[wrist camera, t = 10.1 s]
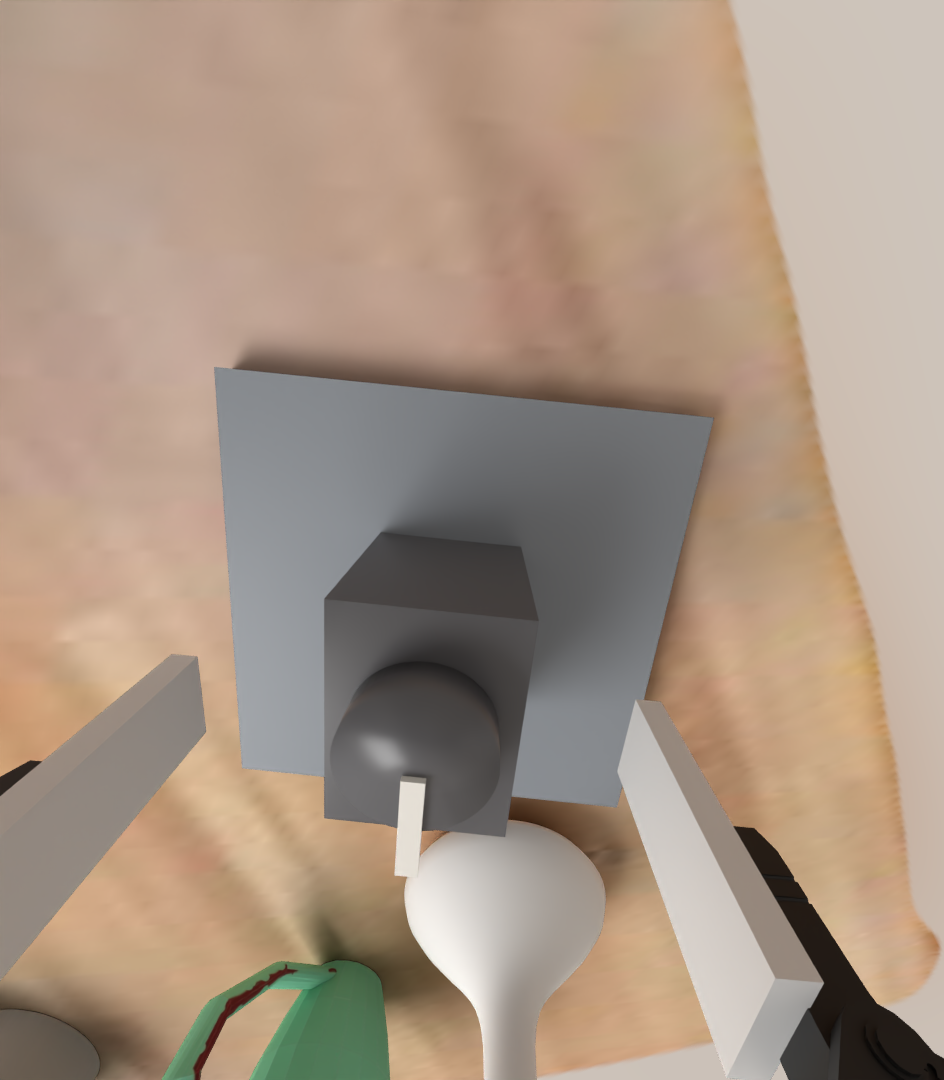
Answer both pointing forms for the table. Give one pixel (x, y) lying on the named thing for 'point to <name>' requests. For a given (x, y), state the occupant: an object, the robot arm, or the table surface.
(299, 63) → the table surface
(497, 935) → the flower in vase
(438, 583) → the knob
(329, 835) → the table surface
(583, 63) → the table surface
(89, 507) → the table surface
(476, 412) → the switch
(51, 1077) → the coffee mug
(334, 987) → the mug
